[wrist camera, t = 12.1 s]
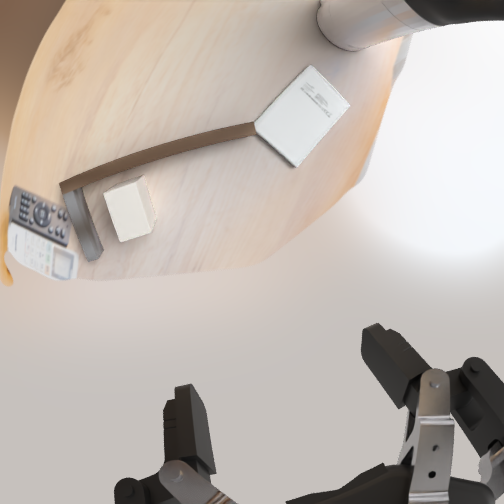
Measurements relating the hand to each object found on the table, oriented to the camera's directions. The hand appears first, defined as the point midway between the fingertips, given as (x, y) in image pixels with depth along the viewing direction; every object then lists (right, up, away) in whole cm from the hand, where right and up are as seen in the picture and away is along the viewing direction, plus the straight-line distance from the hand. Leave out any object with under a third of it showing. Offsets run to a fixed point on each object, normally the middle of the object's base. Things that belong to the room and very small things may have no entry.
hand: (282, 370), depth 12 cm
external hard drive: (+5, +24, +23) cm, 34 cm away
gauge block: (-16, +12, +22) cm, 30 cm away
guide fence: (-13, +13, +23) cm, 29 cm away
